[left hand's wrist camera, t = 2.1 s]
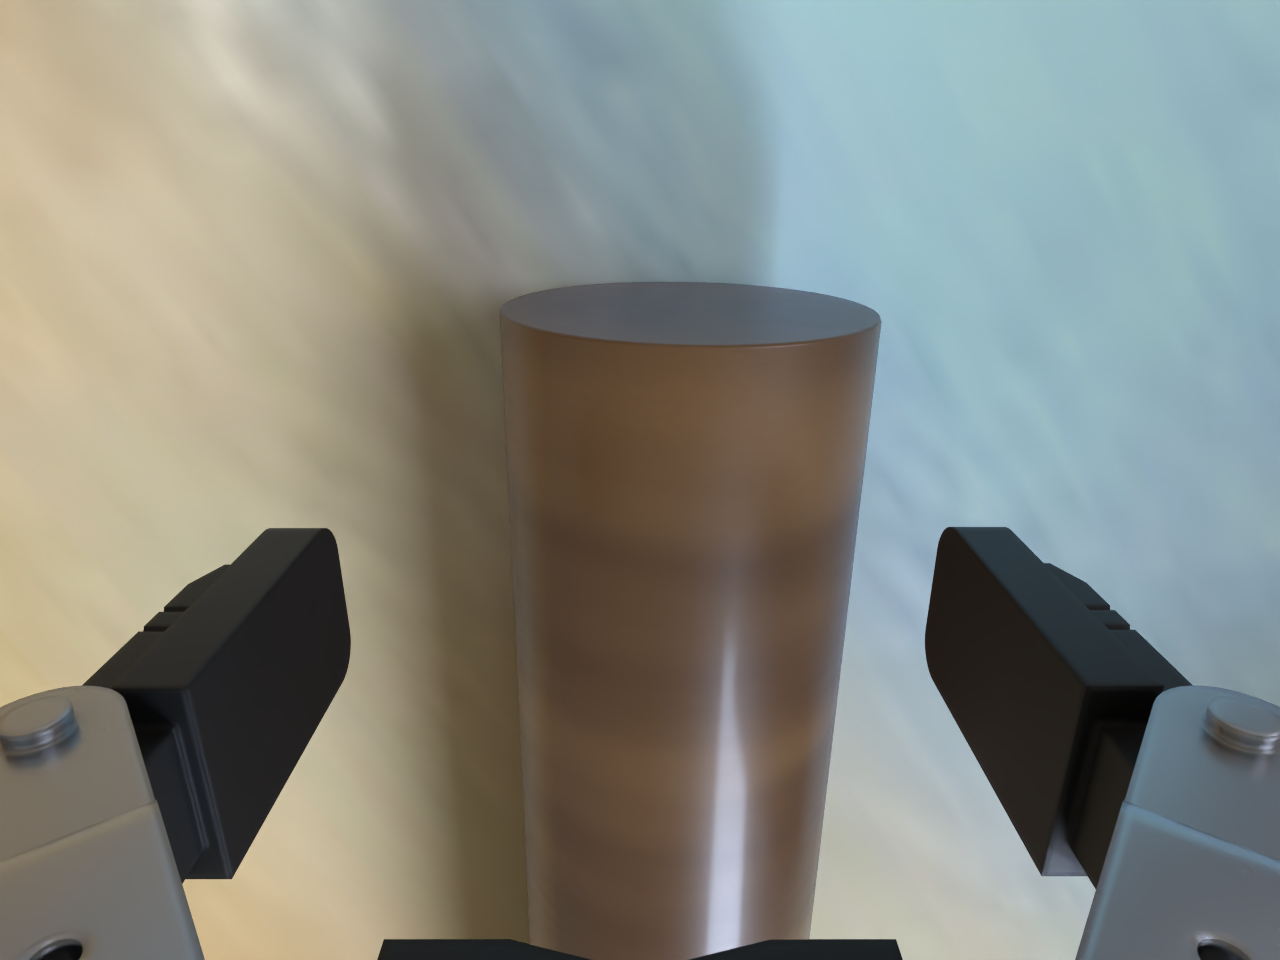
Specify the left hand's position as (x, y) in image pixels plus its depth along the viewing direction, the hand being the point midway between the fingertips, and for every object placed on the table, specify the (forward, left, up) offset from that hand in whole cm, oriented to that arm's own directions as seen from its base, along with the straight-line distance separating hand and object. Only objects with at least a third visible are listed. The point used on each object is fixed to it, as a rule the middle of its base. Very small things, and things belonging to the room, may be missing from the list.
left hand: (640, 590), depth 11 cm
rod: (-3, +9, -7) cm, 11 cm away
